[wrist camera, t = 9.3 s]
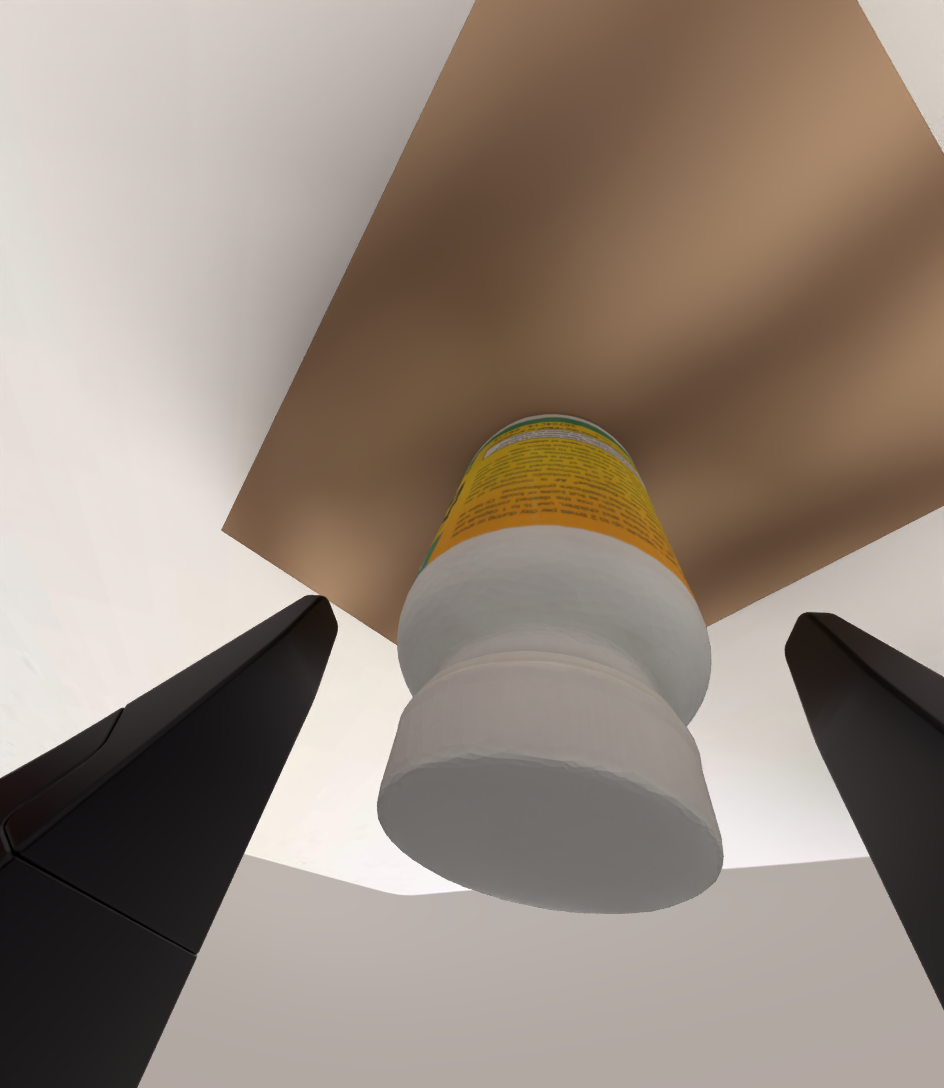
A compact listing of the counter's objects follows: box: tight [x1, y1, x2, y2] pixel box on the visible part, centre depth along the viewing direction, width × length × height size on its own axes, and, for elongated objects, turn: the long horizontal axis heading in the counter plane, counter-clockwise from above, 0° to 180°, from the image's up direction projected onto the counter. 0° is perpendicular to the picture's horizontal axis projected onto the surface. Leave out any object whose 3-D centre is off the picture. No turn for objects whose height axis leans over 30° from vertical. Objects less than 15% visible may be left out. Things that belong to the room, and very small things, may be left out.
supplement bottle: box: [377, 414, 724, 914], centre depth 9 cm, size 5×5×10 cm
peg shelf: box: [221, 0, 944, 645], centre depth 13 cm, size 16×20×2 cm
